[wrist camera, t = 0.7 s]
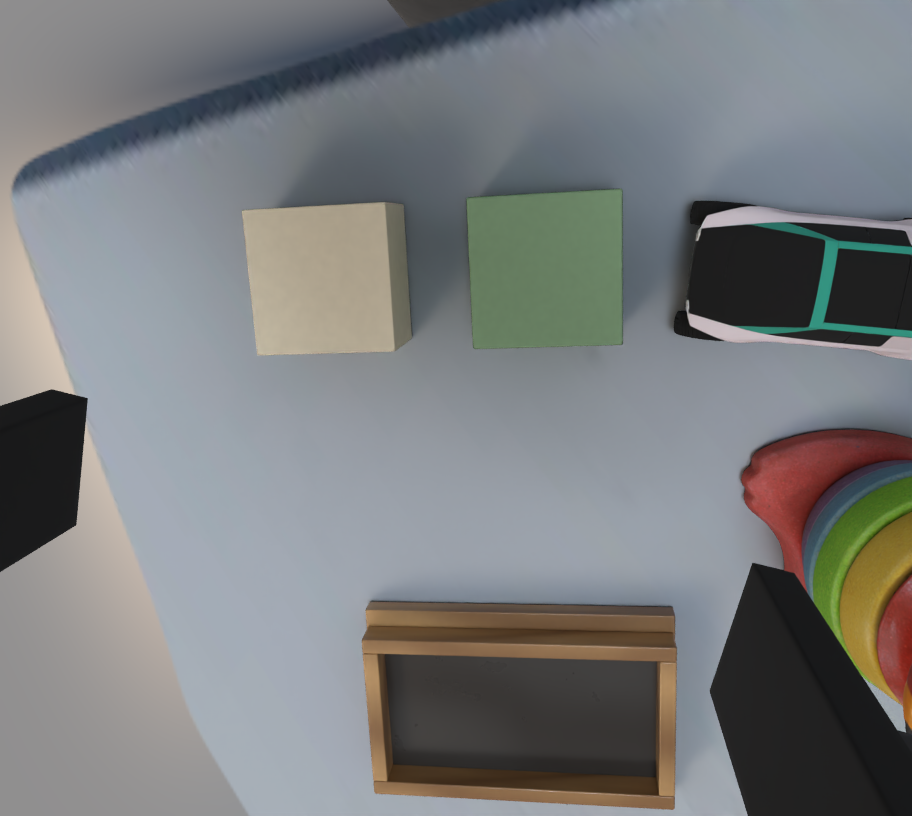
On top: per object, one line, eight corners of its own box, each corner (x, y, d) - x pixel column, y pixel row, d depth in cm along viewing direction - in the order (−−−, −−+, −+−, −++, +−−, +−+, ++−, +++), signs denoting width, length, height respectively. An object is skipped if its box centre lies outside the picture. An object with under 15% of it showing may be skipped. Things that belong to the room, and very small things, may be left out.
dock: (369, 601, 43) (357, 623, 40) (672, 606, 40) (679, 630, 38) (383, 776, 45) (373, 808, 43) (670, 791, 43) (676, 825, 40)
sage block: (476, 199, 37) (465, 197, 33) (616, 192, 36) (622, 188, 32) (482, 336, 38) (472, 349, 35) (617, 332, 37) (623, 344, 34)
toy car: (936, 355, 36) (998, 378, 31) (668, 329, 37) (685, 346, 32) (967, 223, 34) (1037, 223, 29) (687, 201, 36) (708, 197, 31)
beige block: (273, 211, 38) (241, 210, 35) (403, 204, 37) (385, 201, 34) (287, 342, 40) (257, 355, 36) (412, 339, 39) (395, 351, 35)
